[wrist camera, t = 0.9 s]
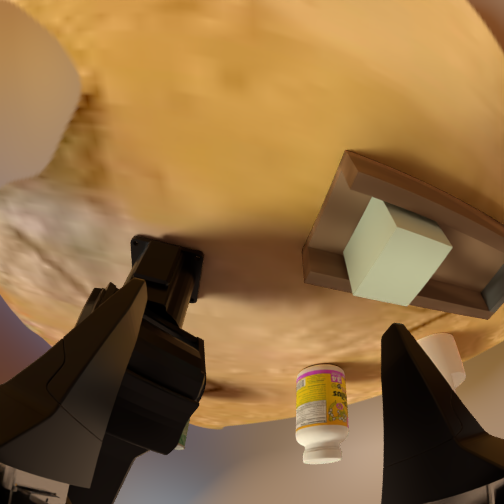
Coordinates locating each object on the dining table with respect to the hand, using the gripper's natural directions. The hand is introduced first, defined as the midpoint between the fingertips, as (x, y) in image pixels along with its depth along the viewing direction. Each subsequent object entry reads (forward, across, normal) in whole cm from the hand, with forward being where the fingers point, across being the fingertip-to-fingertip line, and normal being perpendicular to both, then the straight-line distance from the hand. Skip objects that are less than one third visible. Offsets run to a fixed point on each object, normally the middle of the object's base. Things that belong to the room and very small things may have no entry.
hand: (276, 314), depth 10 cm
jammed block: (+11, -9, +2) cm, 14 cm away
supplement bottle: (+12, -13, +26) cm, 32 cm away
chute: (+12, -15, +2) cm, 19 cm away
